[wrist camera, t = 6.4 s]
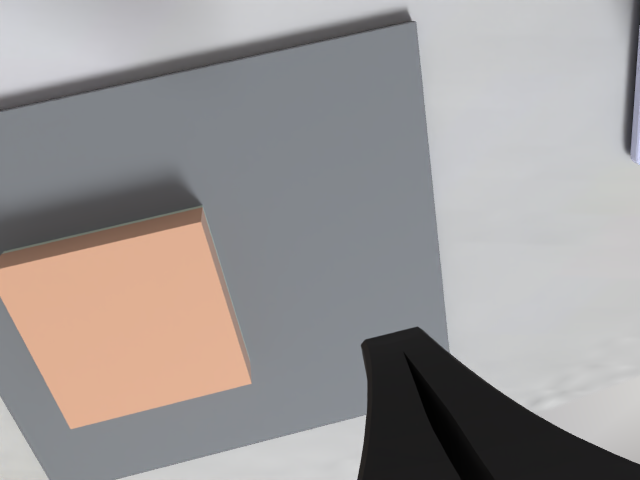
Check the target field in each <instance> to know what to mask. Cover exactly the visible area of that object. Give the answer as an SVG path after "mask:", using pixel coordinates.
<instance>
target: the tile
mask: <svg viewBox="0 0 640 480" xmlns="http://www.w3.org/2000/svg"><path fill="white" fill-rule="evenodd" d="M0 297H1V299H2V301H3V303H4V305H5V306H6V308H7V310H8V312H9V314H10V316H11V318H12V320H13V322H14V323H15V325H16V327H17V329H18V331H19V333H20V335H21V337H22V338H23V340H24V342H25V344H26V346H27V348H28V350H29V352H30V354H31V355H32V357H33V359H34V361H35V363H36V365H37V367H38V369H39V371H40V372H41V374H42V376H43V378H44V380H45V382H46V384H47V386H48V388H49V389H50V391H51V393H52V395H53V397H54V399H55V401H56V403H57V405H58V406H59V408H60V410H61V412H62V414H63V416H64V418H65V420H66V422H67V423H68V425H69V427H70V429H74V428H78V427H82V426H86V425H90V424H94V423H98V422H102V421H106V420H110V419H114V418H118V417H122V416H125V415H129V414H133V413H137V412H141V411H145V410H149V409H153V408H157V407H161V406H165V405H169V404H173V403H177V402H181V401H185V400H189V399H193V398H197V397H201V396H205V395H209V394H213V393H217V392H221V391H225V390H229V389H233V388H237V387H240V386H244V385H248V384H252V381H251V366H250V358H249V354H248V351H247V348H246V345H245V341H244V338H243V335H242V332H241V328H240V325H239V322H238V319H237V315H236V312H235V309H234V306H233V302H232V299H231V296H230V293H229V289H228V286H227V283H226V280H225V276H224V273H223V270H222V267H221V263H220V260H219V257H218V253H217V250H216V247H215V244H214V240H213V237H212V234H211V231H210V227H209V224H208V221H207V218H206V214H205V211H204V208H203V205H201V206H197V207H193V208H188V209H184V210H180V211H175V212H171V213H167V214H162V215H158V216H154V217H149V218H145V219H141V220H137V221H132V222H128V223H124V224H119V225H115V226H111V227H106V228H102V229H98V230H94V231H89V232H85V233H81V234H76V235H72V236H68V237H63V238H59V239H55V240H50V241H46V242H42V243H38V244H33V245H29V246H25V247H20V248H16V249H12V250H7V251H4V252H3V253H2V254H1V255H0Z"/></svg>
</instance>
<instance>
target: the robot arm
mask: <svg viewBox="0 0 640 480" xmlns="http://www.w3.org/2000/svg"><path fill="white" fill-rule="evenodd" d="M631 159H632V161H633V162H635V163H637V164H639V165H640V27H639V42H638V56H637V70H636V84H635V99H634V113H633V127H632V141H631ZM361 349H362V355H363V360H364V365H365V370H366V376H367V415H366V425H365V436H364V444H363V451H362V457H361V463H360V468H359V474H358V479H357V480H640V464H637V463H635V462H632V461H629V460H627V459H625V458H623V457H620V456H618V455H615V454H613V453H611V452H609V451H607V450H605V449H602V448H600V447H598V446H596V445H594V444H592V443H589V442H587V441H585V440H583V439H581V438H579V437H576V436H574V435H572V434H570V433H568V432H566V431H564V430H563V429H560V428H559V427H557V426H555V425H553V424H552V423H550V422H548V421H546V420H545V419H543V418H541V417H539V416H538V415H536V414H534V413H533V412H531V411H529V410H528V409H526V408H524V407H523V406H521V405H520V404H518V403H516V402H515V401H513V400H512V399H510V398H509V397H507V396H506V395H504V394H503V393H501V392H500V391H498V390H497V389H496V388H494V387H493V386H491V385H490V384H489V383H487V382H486V381H484V380H483V379H482V378H481V377H479V376H478V375H477V374H475V373H474V372H473V371H471V370H470V369H469V368H467V367H466V366H465V365H463V364H462V363H461V362H460V361H458V360H457V359H456V358H455V357H454V356H452V355H451V354H450V353H449V352H448V351H446V350H445V349H444V348H443V347H442V346H440V345H439V344H438V343H437V342H436V341H435V340H434V339H433V338H431V337H430V336H429V335H428V334H427V333H426V332H425V331H424V330H423V329H421V328H419V327H418V326H417V327H413V328H409V329H405V330H401V331H397V332H393V333H389V334H385V335H381V336H377V337H373V338H369V339H365V340H364V341H363V343H362V344H361Z"/></svg>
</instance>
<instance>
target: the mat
mask: <svg viewBox="0 0 640 480" xmlns="http://www.w3.org/2000/svg"><path fill="white" fill-rule="evenodd" d="M201 205H203V208H204V211H205V214H206V218H207V221H208V224H209V227H210V231H211V234H212V237H213V240H214V244H215V247H216V250H217V253H218V257H219V260H220V263H221V267H222V270H223V273H224V276H225V280H226V283H227V286H228V289H229V293H230V296H231V299H232V302H233V306H234V309H235V312H236V315H237V319H238V322H239V325H240V328H241V332H242V335H243V338H244V341H245V345H246V348H247V351H248V354H249V358H250V366H251V381H252V384H248V385H244V386H240V387H237V388H233V389H229V390H225V391H221V392H217V393H213V394H209V395H205V396H201V397H197V398H193V399H189V400H185V401H181V402H177V403H173V404H169V405H165V406H161V407H157V408H153V409H149V410H145V411H141V412H137V413H133V414H129V415H125V416H122V417H118V418H114V419H110V420H106V421H102V422H98V423H94V424H90V425H86V426H82V427H78V428H74V429H70V427H69V425H68V423H67V422H66V420H65V418H64V416H63V414H62V412H61V410H60V408H59V406H58V405H57V403H56V401H55V399H54V397H53V395H52V393H51V391H50V389H49V388H48V386H47V384H46V382H45V380H44V378H43V376H42V374H41V372H40V371H39V369H38V367H37V365H36V363H35V361H34V359H33V357H32V355H31V354H30V352H29V350H28V348H27V346H26V344H25V342H24V340H23V338H22V337H21V335H20V333H19V331H18V329H17V327H16V325H15V323H14V322H13V320H12V318H11V316H10V314H9V312H8V310H7V308H6V306H5V305H4V303H3V301H2V299H1V297H0V396H1V398H2V400H3V402H4V403H5V405H6V407H7V408H8V410H9V412H10V413H11V415H12V417H13V419H14V420H15V422H16V424H17V425H18V427H19V429H20V431H21V432H22V434H23V436H24V437H25V439H26V441H27V442H28V444H29V446H30V448H31V449H32V451H33V453H34V454H35V456H36V458H37V460H38V461H39V463H40V465H41V466H42V468H43V470H44V471H45V473H46V475H47V477H48V478H49V480H116V479H120V478H123V477H127V476H131V475H135V474H139V473H143V472H147V471H150V470H154V469H158V468H162V467H166V466H170V465H174V464H178V463H181V462H185V461H189V460H193V459H197V458H201V457H205V456H208V455H212V454H216V453H220V452H224V451H228V450H232V449H236V448H239V447H243V446H247V445H251V444H255V443H259V442H263V441H266V440H270V439H274V438H278V437H282V436H286V435H290V434H294V433H297V432H301V431H305V430H309V429H313V428H317V427H321V426H324V425H328V424H332V423H336V422H340V421H344V420H348V419H352V418H355V417H359V416H363V415H367V376H366V370H365V365H364V360H363V355H362V349H361V344H362V343H363V341H364V340H365V339H369V338H373V337H377V336H381V335H385V334H389V333H393V332H397V331H401V330H405V329H409V328H413V327H417V326H418V327H419V328H421V329H423V330H424V331H425V332H426V333H427V334H428V335H429V336H430V337H431V338H433V339H434V340H435V341H436V342H437V343H438V344H439V345H440V346H442V347H443V348H444V349H445V350H446V351H448V352H449V343H448V333H447V323H446V313H445V304H444V294H443V284H442V274H441V264H440V254H439V244H438V234H437V224H436V214H435V204H434V194H433V184H432V175H431V165H430V155H429V145H428V135H427V125H426V115H425V105H424V95H423V85H422V75H421V65H420V55H419V45H418V36H417V26H416V22H415V21H409V22H405V23H400V24H396V25H391V26H386V27H382V28H377V29H373V30H368V31H363V32H359V33H354V34H350V35H345V36H340V37H336V38H331V39H327V40H322V41H318V42H313V43H308V44H304V45H299V46H295V47H290V48H285V49H281V50H276V51H272V52H267V53H262V54H258V55H253V56H249V57H244V58H239V59H235V60H230V61H226V62H221V63H217V64H212V65H207V66H203V67H198V68H194V69H189V70H184V71H180V72H175V73H171V74H166V75H161V76H157V77H152V78H148V79H143V80H138V81H134V82H129V83H125V84H120V85H116V86H111V87H106V88H102V89H97V90H93V91H88V92H83V93H79V94H74V95H70V96H65V97H60V98H56V99H51V100H47V101H42V102H38V103H33V104H28V105H24V106H19V107H15V108H10V109H5V110H1V111H0V255H1V254H2V253H3V252H4V251H7V250H12V249H16V248H20V247H25V246H29V245H33V244H38V243H42V242H46V241H50V240H55V239H59V238H63V237H68V236H72V235H76V234H81V233H85V232H89V231H94V230H98V229H102V228H106V227H111V226H115V225H119V224H124V223H128V222H132V221H137V220H141V219H145V218H149V217H154V216H158V215H162V214H167V213H171V212H175V211H180V210H184V209H188V208H193V207H197V206H201Z"/></svg>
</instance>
